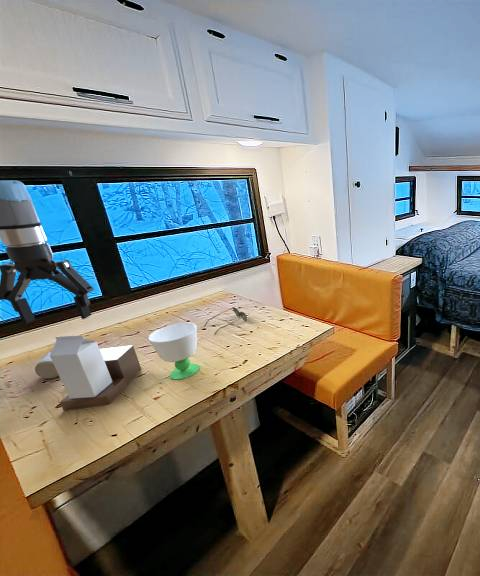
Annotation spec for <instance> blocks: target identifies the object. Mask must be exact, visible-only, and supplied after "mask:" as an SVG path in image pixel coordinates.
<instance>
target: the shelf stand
mask: <svg viewBox="0 0 480 576" xmlns="http://www.w3.org/2000/svg"><path fill="white" fill-rule="evenodd" d="M99 349H100V351H101V354H102V356H103V359H104V361H105V364H106V366H107V369H108V371H109V374H110V376H111V379H112V383H111V384H110V385H108V386H107V387H106V388H105V389H104V390H103V391H101V392H100V393H99V394H98V395H97V396H95V397H87V398H74V399H70V398H69V396H68V394H67V395H65V397H64V398H62V399H61V400H60V401H59V405H60V406H61V409H62V411H69V410H77V409H83V408H92V407H99V406H106V405H110V404H111V403H112V402H113V401H115V399H116V398H117V397H118V396H119V395H120V394H121V393H122V391H124V389H125V388H127V386H128V385H129V384H130V383H131V382H132V381H133V380H134V379H135V377H137V375H138V374H139V373H140V372H141V371H142V366H141V364H140V361H139V358H138V356H137V353H136V350H135V347H134V344H132V345H131V344H130V345H123V346H114V347H104V348H99Z"/></svg>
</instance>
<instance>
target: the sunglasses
mask: <svg viewBox="0 0 480 576" xmlns="http://www.w3.org/2000/svg"><path fill="white" fill-rule="evenodd" d="M231 310H233V313H234V314H235V316H236V317H237V318H238V317H239V318H238V319H237V320H234V321H232V322H230V323H228V324H225V325H224V326H221V327H220V328H218V329H217V330H215V332H214V334H215V335H216V334H217V333H218V331H220V330H221V329H223V328H225V327H228V326H229V325H232V324H234V323H236V322H238V321H240V320H241V319H242V320H243V321H244V322H245V321H246V322H245V323H247V322H248V317H247V314H246V313H245V312H244V311H239V309H237V308H236V307H234V306H233V307H231V308H228V309H227V310H224V311H223V312H220V313H218V314H216V315H214V316H213V317H211V318H209V319H207V321H206V322H205V324H204V327H206V325H207V324H208V323H209V322H210V320H213V319H215V318H217V317H218V316H220V315H222V314H223V313H226V312H228V311H231Z"/></svg>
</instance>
